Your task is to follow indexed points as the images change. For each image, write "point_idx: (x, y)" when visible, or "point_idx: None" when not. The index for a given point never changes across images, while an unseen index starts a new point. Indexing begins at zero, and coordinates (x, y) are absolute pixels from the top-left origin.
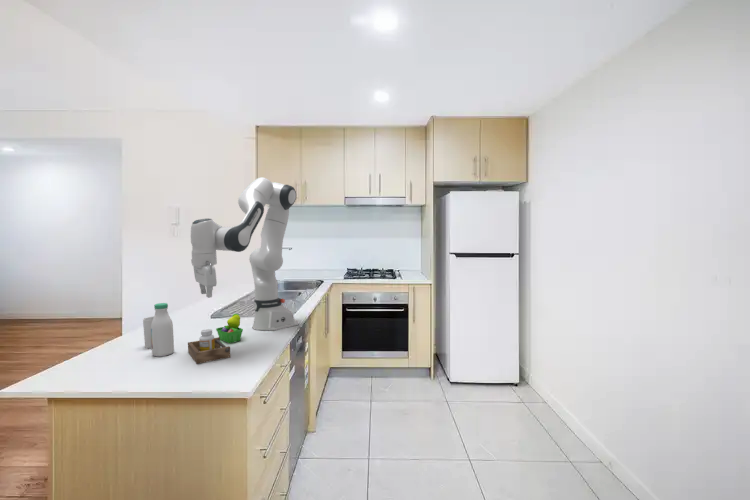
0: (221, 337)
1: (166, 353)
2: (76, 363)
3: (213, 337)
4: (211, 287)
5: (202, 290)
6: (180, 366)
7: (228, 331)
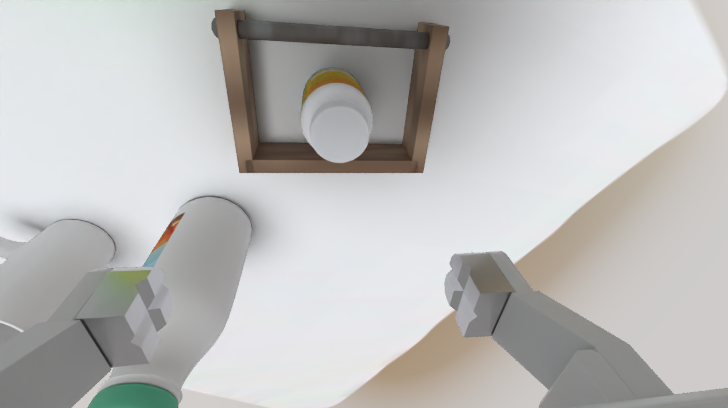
0: None
1: (249, 224)
2: (197, 375)
3: (360, 94)
4: (636, 377)
5: (146, 345)
6: (397, 198)
7: None
